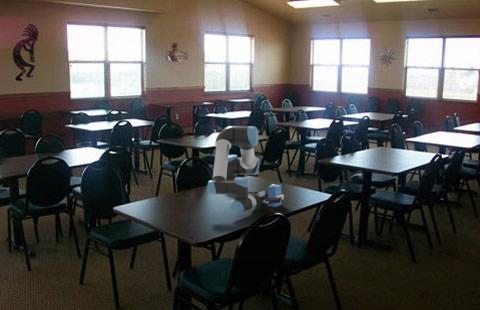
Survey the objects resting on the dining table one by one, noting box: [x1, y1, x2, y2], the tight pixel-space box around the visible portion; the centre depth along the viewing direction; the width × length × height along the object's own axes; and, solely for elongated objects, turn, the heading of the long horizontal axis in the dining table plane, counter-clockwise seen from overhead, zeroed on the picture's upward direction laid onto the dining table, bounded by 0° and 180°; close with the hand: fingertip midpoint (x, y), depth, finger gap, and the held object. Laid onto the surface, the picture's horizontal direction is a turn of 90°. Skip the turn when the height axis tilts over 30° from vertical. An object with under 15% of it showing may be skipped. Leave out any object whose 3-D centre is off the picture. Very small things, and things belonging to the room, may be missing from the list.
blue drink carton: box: [267, 183, 282, 208], centre depth 297 cm, size 7×5×13 cm
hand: (273, 195), depth 296 cm, fingers open, 13 cm apart
